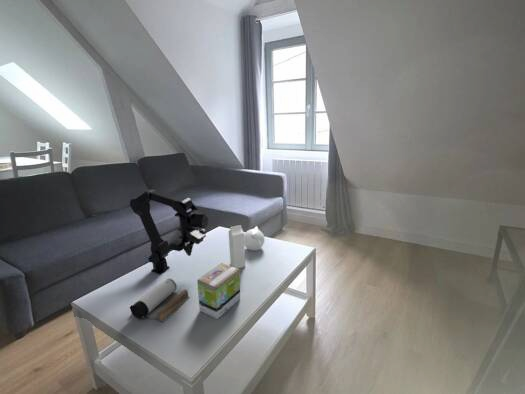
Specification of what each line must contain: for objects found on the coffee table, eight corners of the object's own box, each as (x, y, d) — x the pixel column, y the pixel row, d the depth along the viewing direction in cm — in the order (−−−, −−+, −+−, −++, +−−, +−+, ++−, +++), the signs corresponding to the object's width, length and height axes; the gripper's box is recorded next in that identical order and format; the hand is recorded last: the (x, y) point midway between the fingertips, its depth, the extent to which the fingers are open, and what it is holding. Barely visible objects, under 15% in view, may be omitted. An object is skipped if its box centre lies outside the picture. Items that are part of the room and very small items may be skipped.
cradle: (132, 311, 114) (131, 304, 113) (160, 289, 128) (159, 282, 127) (163, 322, 108) (162, 314, 107) (189, 297, 122) (188, 290, 121)
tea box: (218, 320, 108) (215, 287, 104) (199, 311, 113) (195, 279, 109) (241, 298, 120) (239, 268, 116) (223, 291, 126) (221, 261, 121)
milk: (230, 264, 148) (227, 225, 141) (241, 261, 150) (239, 222, 144) (234, 269, 142) (232, 229, 136) (245, 266, 145) (243, 226, 138)
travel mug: (168, 275, 124) (132, 302, 107) (179, 285, 123) (144, 315, 106) (163, 282, 127) (127, 310, 110) (173, 293, 126) (138, 323, 109)
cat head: (244, 243, 171) (244, 224, 167) (266, 243, 169) (265, 225, 165) (239, 255, 157) (238, 234, 153) (262, 256, 155) (262, 235, 151)
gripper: (186, 236, 119) (190, 268, 123) (212, 220, 135) (214, 250, 139) (166, 231, 123) (170, 263, 128) (193, 217, 139) (196, 246, 144)
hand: (189, 255), depth 135 cm, fingers closed
